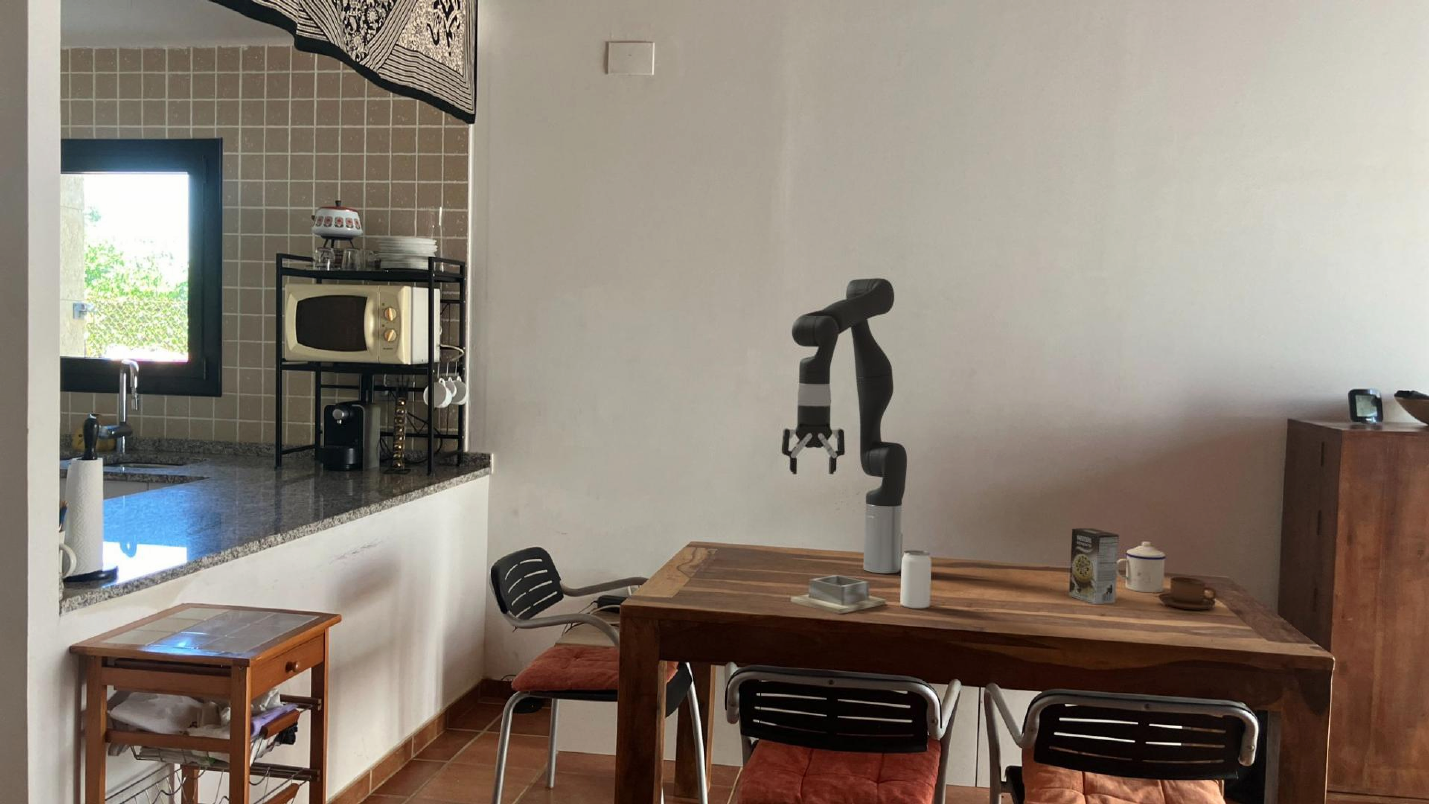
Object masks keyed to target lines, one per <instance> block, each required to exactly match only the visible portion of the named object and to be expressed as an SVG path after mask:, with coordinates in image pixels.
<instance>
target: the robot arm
mask: <svg viewBox="0 0 1429 804" xmlns="http://www.w3.org/2000/svg"><path fill="white" fill-rule="evenodd" d="M894 301H895V291H894V287H893V285H892V283H891V282H890V281H889V280H888V279H885V278H879V277H877V278H876V277H875V278H860V279H852V280H850V281H849V283H848V284H847V287H846V293H845V298H844V299H841V300H838V301H836V302H833V303H831V304H829V305H828V306H826V307H824V308H823V309H820V310H816V311H812V312H809V313H805V314H802V315H800V316H799V317H798V318H797V319H796V320H794V322H793V324H792V327H791V337H792V339H793V341H794V342H795V343H796V344H797V345H798V346H801V347H807V348H808V347H809V348H812V347H813V348H817V351H816V352H815V354H814V355H813V356H808V357H804V358H802V359H800V361H799V365H798V366H799V371H798V383H799V384H798V390H797V411H796V412H797V417H796V418H797V419H796V420H797V423H796V428H795V429H790V428H783V431H782V440H781V454H782V455H784V456H786V457H788V458H789V471H790V472H791V474H792V475H797V474H798V473H797V471H798V458H797V456H798V454H799V453H800V452H801V451H802V450H803V449H804V448H807V449H811V448H812V449H813V448H816V449H821V448H822V447H823V448H824V449H825V450H826V452H827V454H829V456H830V457H829V458H828V474H829V475H834V473H836V472H837V459H838V457H840V456H844V455H845V453H846V450H845V447H846V445H845V431H844V429H842V428H837V429H832V427H831V403H832V398H831V397H832V395H831V385H830V384H831V365H832V360H833V356H834V353H835V349H836V345H837V343H838V341H839V340H838V339H839V335H841V334H842V333H844V332H845V331H847V330H848V329H850V332H851V337H852V344H853V355H854V365H855V366H854V368H855V383H856V391H857V397H858V408H859V409H858V410H859V411H858V412H859V432H860V433H859V456H860V457H859V459H860V460H859V461H860V465H861V466H860V467H861V469H862V471H863V472H864V474H865V475H867V476H870V477H876V478H882V479H881V483H880V484H881V485H880V486H879V487H878V488H876V489H873V490H869V491H868V492H866V495H865V510H864V511H865V512H864V538H863V541H864V542H863V545H864V546H863V570H864V571H867V572H870V573H876V574H895V573H898V572H900V571H901V569H902V558H903V533H902V507H903V505H902V504H903V497H904V495H905V489H906V480H907V479H906V478H907V467H908V454H907V451H906V449H905V447H904V446H903V444H901V443H898V442H889V441H882V434H881V433H882V432H881V427H882V425H881V424H882V418H883V416H884V414H885V412H886V410H887V408H888V406H889V404H890V402H891V400H892V397H893V394H894V378H893V368H892V364H891V361H890V359H889V357H888V356H887V355H886V353H885V352H884V350H883V349H882V347H881V346H880V345H879V343H878V342H877V341H876V339H875V338H874V336H873V334H872V331H871V329H870V325H869V320H868V319H871V318H873V317H877V316H882V315H885V314H887V313H889V312H890V311H891V309H892V308H893V306H894V303H895V302H894ZM794 435H795V436H796V437H797V439H798V441H797V442H796V444H795V445H794V446H793V448H792V449H791V450H790V439H792V438H793V437H794ZM832 435H833V436H834V439H836V445H837V447H836V448H837V449H836V450H834V448H833V447H832V445H831V444H830V443H829V441H828V440H829V439H830V438H831V437H832Z"/></svg>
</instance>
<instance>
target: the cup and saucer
mask: <svg viewBox="0 0 1429 804" xmlns="http://www.w3.org/2000/svg"><path fill="white" fill-rule="evenodd" d="M1169 590H1170V592H1165V593H1161V594H1159V595H1158V599H1159V600H1160V601H1161V602H1162V603H1163V604H1166V605H1167V606H1170V607H1173V608H1174V607H1175V608H1177V609H1183V610H1196V611H1197V610H1207V609H1210V608H1212V607H1214V606H1215V605H1216V600H1215V599H1216V598H1217V596H1218V592H1217V591H1216V589H1215V588H1213V587H1211V586H1206V581H1204V580H1202V579H1198V578H1194V577H1193V578H1192V577H1184V576H1183V577H1181V576H1177V577H1171V578H1170V588H1169ZM1205 591H1211V592H1212V593H1213V596H1210V597H1209V596H1207V595H1205V593H1206V592H1205Z"/></svg>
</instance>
